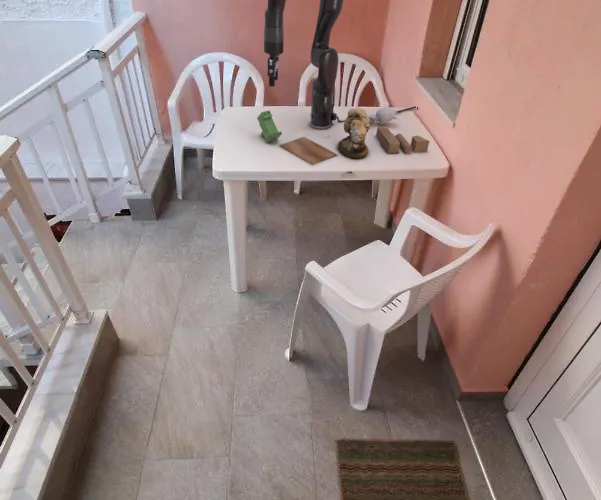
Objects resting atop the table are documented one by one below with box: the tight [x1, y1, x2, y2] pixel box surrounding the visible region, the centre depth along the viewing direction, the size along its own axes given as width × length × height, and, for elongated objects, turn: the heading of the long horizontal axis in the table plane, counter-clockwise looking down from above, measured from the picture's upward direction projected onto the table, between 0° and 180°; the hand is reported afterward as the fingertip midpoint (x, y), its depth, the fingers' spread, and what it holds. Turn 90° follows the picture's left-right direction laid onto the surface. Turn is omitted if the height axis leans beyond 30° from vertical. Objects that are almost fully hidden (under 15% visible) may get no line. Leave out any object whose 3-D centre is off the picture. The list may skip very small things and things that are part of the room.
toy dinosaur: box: [256, 109, 283, 143], centre depth 170 cm, size 11×5×12 cm, turn 40°
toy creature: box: [367, 107, 401, 126], centre depth 188 cm, size 13×7×20 cm
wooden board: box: [279, 136, 337, 165], centre depth 167 cm, size 13×20×1 cm, turn 40°
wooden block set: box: [375, 125, 430, 154], centre depth 173 cm, size 17×6×18 cm
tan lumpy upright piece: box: [337, 107, 371, 160], centre depth 164 cm, size 18×12×17 cm, turn 11°
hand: (273, 83), depth 167 cm, fingers open, 8 cm apart
